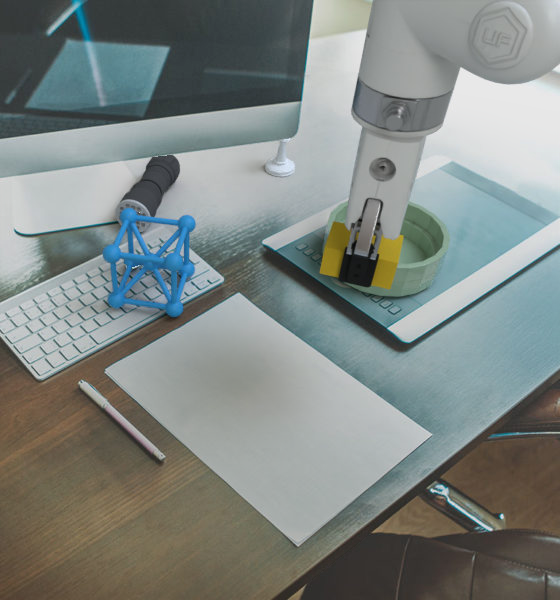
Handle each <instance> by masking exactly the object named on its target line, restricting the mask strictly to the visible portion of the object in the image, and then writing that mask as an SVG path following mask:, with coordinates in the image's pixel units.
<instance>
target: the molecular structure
mask: <svg viewBox="0 0 560 600" xmlns="http://www.w3.org/2000/svg"><path fill="white" fill-rule="evenodd" d="M120 220H121V222H122V223H123V224H122V226H121V225H120V228H119V230H118V232H117V235H116V237H115V239H114V241H113V243H112V244H111V243H110V244H108V245H106V246H105V247H104V248H103V249H102V253H101V254H102V259H103V260H104V261H105V262H107V263H108V264H109V268H110V277H111V287H112V291H111V292H110V293H109V294H108V296H107V304H108V303H109V304H108V305H109V306H110V305H111V306H112V307H114V308H113V309H120V308H119V307H121V306H122V307H123V306H124V305H125V304H126V305H132V306H137V307H138V306H139V307H145V308H151V309H159V310H165V313H166V314H167V315H168V316H169V317H171V318H178V317H181V315H182V314H183V312H184V304H183V302H181V298H182V294H183V291H184V289H185V288H184V287H185V284H186V281H187V279H188V278H187V277H189V278H191V277H193V276H194V274H195V273H196V267H195V265H194V263H193V262H191V261H190V233H192V232H193V231H194V230H195V228H196V225H197V222H196V220H195V218H194V217H193V216H192V215H189V214H184V215H181V216H180V217H179V219H173V218H164V217H156V216H155V217H149V216H141V215H137V213H136V211H135V210H134V209H132V208H125V209H124V210H122V212H121V213H120ZM136 221H143V222H151V223H152V224H160V225H168V226H176V227H177V228H178V229H177V230H176V231H175V232H173V234H172V235H171V236H170V237H169V238H168V239H167V241H166V242H164V243H163V245H162V246H161V247H160V248H159V249H158V250H157V251H155V253H153V252H150V250H149V248H148V246H147V245H146V242H145V240H144V238H143V236H142V234H141V232H139V230H138V228H137V226H136V224H135V223H136ZM151 223H150V224H151ZM125 233H126V236H127V251H128V252H122V250H121V248H120V244H121V242H122V240H123V238H124V235H125ZM134 237H135V238H136V241H137V243H138V245H139V247H140V248H141V251H142V253H143V254H138V253H135V248H134V247H135V246H134ZM176 240H177V243H176V246H175V248H174V251H173V252H170V253H169V252H168V253H167V255H166V256H165V257H162V255H164V253H165V252H166V251H167V250H168V249H169V248H170V247H171V246H172V245H173V244H174V243H175V241H176ZM182 249H183V257H182V255H181V251H182ZM120 260H123V265H124V264H126V265H127V268H126V267H125V271H124V273H123V275H122V278H121V280H120V283H119V281H118V271H117V270H118V269H117V263H118V262H119V261H120ZM138 265H143V266H141V269H139V270H138V272H137V273H136V274H135V275H134V276H133V277H132V278H131V279H130V280H129V277H130V275H131V273H132V270H131V269H132V267H135V266H138ZM159 269H160V270H167V271H168V272H170V290H169V288H168V286H167V284H166V282H165V281H164V278H163V276H162V274H161V272H160V270H159ZM148 271H149V272H152V273H153V275H154V277H155V279H156V281H157V283H158V285H159V287H160V290H161V291H162V293H163V295H164V297H165V299H166V303H161V302H155V301H147V300H142V299H135V298H128V297H126V294H127V293H128V292H129V291H130V290H131V289H132V288H133V287H134V286H135V284H137V282H138V281H139V280H140V279H141V278H142V277H143V276H144V275H145V274H146V273H147V272H148ZM130 272H131V273H130ZM178 274H179V276H180V275H181V276H180V280H179V282H178ZM127 279H128V280H129V282H128V280H127ZM111 306H110V307H111ZM112 307H111V308H112ZM122 307H121V308H122Z"/></svg>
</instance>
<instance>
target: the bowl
mask: <svg viewBox="0 0 560 600" xmlns="http://www.w3.org/2000/svg"><path fill="white" fill-rule="evenodd" d="M347 207H348V200H347V201H344V202H342V203H340V204H338V205H337V206H336V207H335V208H334V209H333V210H332V211H331V212H330V214H329V217H328V219H327V221H326V227H325V233H324V238H323V243H322V249H321V253H322V254H323V253H324V248H325V244H326V241H327V238H328V235H329V232H330V229H331V226H332V223H333V221H335V222H340V223H345V221H346V214H347ZM400 235H403V236H404V237H403V242H402V247H401V252H400V257H399V262H398V266H397V269H396V272H395V276H394V279H393V282H392V285H391V289H385V288H381V287H377V286H372V285H371V286H370V287H368V288H367V287H362V286H358V285H354V284H349V283H345V282H342V283H343V284H345V285H347V286H349V287H352V288H353V289H355V290H357V291H360V292H363V293H367V294H371V295H375V296H380V297H405V296H410V295H415V294H418V293H420V292H422V291H424V290H426V289H428V288H429V287H431V286H432V285H433V284H434V282H435V281H436V280H437V279H438V277H439V276H440V273H441V270H442V267H443V264H444V262H445V260H446V256H447V254H448V251H449V249H450V243H451V236H450V233H449V230H448V228H447V226H446V224H445V223H444V222H443V221H442V220H441V219H440V218H439V216H437V214H435V213H433V212H432V211H430V210H429V209H427V208H425V207H424V206H422V205H420V204H418V203H415V202H412V201H410V200H409V203H408V206H407V209H406V213H405V217H404V220H403V224H402V227H401V231H400Z"/></svg>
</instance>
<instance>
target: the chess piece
mask: <svg viewBox="0 0 560 600" xmlns="http://www.w3.org/2000/svg"><path fill="white" fill-rule="evenodd" d="M277 141H278V142H279V145H278V149H277V153H276V156H275V157H272V158H270V159H268V160H267V161H266V162H265V165H264V170H265V172H266V173H267V174H269V175H271V176H273V177H279V178H281V177H284V178H285V177H287V176H288V177H289V176H291V175H293V174H294V173H295V171H296V165H295V162H294V161H293V160H291V159H289V158H288V157H287V143H288V142H290V141H291V137H290V138H289V139H284V140H277Z"/></svg>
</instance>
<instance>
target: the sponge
mask: <svg viewBox="0 0 560 600" xmlns="http://www.w3.org/2000/svg"><path fill="white" fill-rule="evenodd" d="M351 231H352V229H351V230H350V231H349V230H348V229H347V228H346V226H345V223H340V222H335V221H333V223H332V226H331V229H330V232H329V235H328V238H327V241H326V244H325V248H324V253H322V258H321V264H320V268H319V274H320V275H325V276H329V277H334V278H337V279H338V277H339V273H340V268H341V264H342V259H343V255H344V251H345V247H348V244H349V240H350V235H351ZM358 236H359V232H357V236H356V240H357V239H358ZM375 237H376V236H375V235H373V238H372V242H371V243H373V245H374V241H375ZM403 237H404V236H403V235H399V237H398V238H397V239H395V240H391V239H387V238H384V236H383V235H382V238H381V241H380V245H379V249H378V252H377V254H380V255H379V259H378V262H377V266H376V270H375V273H374V277H373V280H372V284H371V285H372V286H377V287H381V288H385V289H391V285H392V282H393V279H394V276H395V272H396V269H397V266H398V262H399V257H400V252H401V247H402V242H403Z"/></svg>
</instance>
